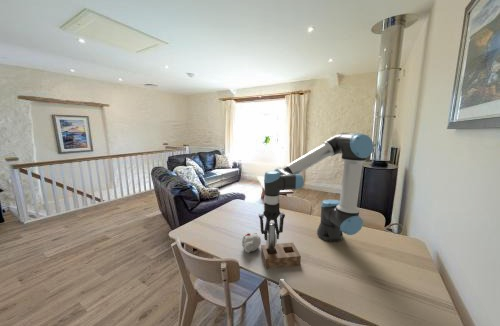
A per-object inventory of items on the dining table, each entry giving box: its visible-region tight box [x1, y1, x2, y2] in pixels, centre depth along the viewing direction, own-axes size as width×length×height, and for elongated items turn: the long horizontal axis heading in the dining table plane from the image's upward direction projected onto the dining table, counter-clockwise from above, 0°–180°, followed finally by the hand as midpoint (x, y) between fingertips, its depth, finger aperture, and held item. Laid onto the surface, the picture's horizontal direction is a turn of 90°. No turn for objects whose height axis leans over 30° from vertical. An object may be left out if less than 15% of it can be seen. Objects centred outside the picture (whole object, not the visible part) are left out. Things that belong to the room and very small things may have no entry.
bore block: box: [260, 242, 302, 269], centre depth 107 cm, size 18×12×5 cm, turn 97°
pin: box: [268, 222, 276, 253], centre depth 104 cm, size 4×4×15 cm
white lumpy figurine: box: [241, 232, 262, 254], centre depth 117 cm, size 9×11×15 cm
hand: (271, 244), depth 105 cm, fingers closed on pin, 3 cm apart
